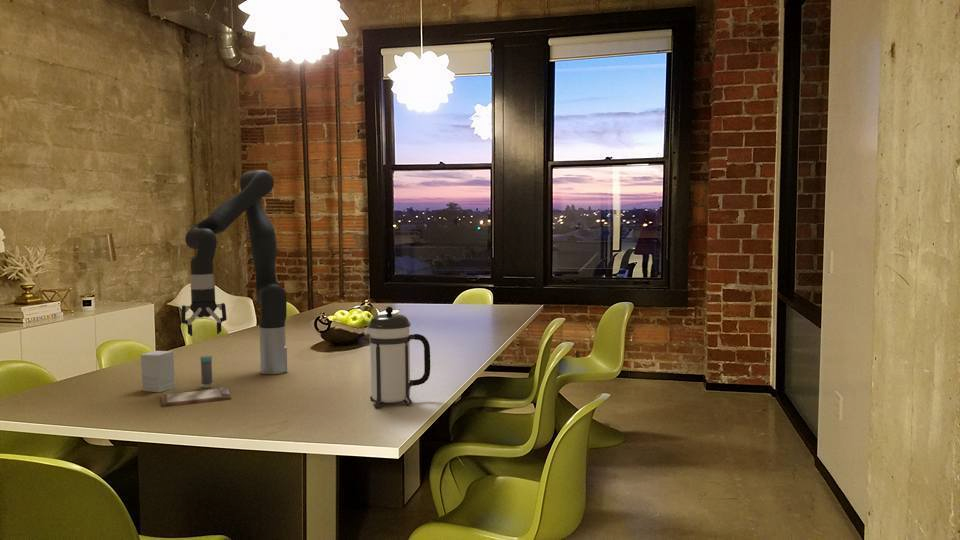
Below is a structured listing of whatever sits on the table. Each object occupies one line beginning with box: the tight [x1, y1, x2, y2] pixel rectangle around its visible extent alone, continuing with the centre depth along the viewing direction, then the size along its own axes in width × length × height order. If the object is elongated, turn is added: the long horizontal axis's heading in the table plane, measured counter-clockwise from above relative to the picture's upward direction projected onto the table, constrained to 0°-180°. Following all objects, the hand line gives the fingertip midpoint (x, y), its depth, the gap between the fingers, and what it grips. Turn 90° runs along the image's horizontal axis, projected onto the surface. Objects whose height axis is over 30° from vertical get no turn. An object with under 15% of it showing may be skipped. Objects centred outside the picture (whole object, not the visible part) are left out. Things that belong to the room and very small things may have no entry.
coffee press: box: [363, 306, 431, 409], centre depth 209 cm, size 17×16×30 cm
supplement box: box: [140, 350, 176, 393], centre depth 229 cm, size 7×7×13 cm
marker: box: [199, 355, 213, 389], centre depth 232 cm, size 4×4×10 cm
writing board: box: [161, 386, 232, 408], centre depth 217 cm, size 20×13×2 cm, turn 115°
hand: (204, 334), depth 231 cm, fingers open, 8 cm apart
